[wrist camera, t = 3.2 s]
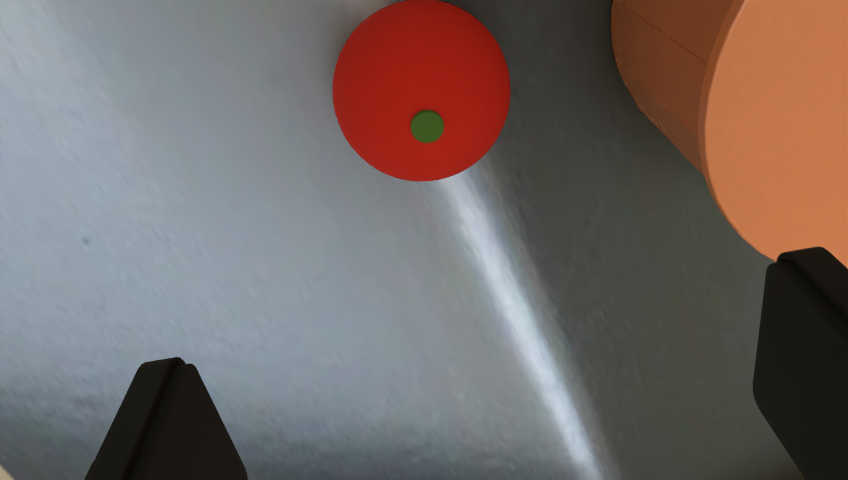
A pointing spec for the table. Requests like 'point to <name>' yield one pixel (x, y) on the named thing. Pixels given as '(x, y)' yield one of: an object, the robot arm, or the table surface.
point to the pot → (667, 61)
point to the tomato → (421, 90)
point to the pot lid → (779, 124)
